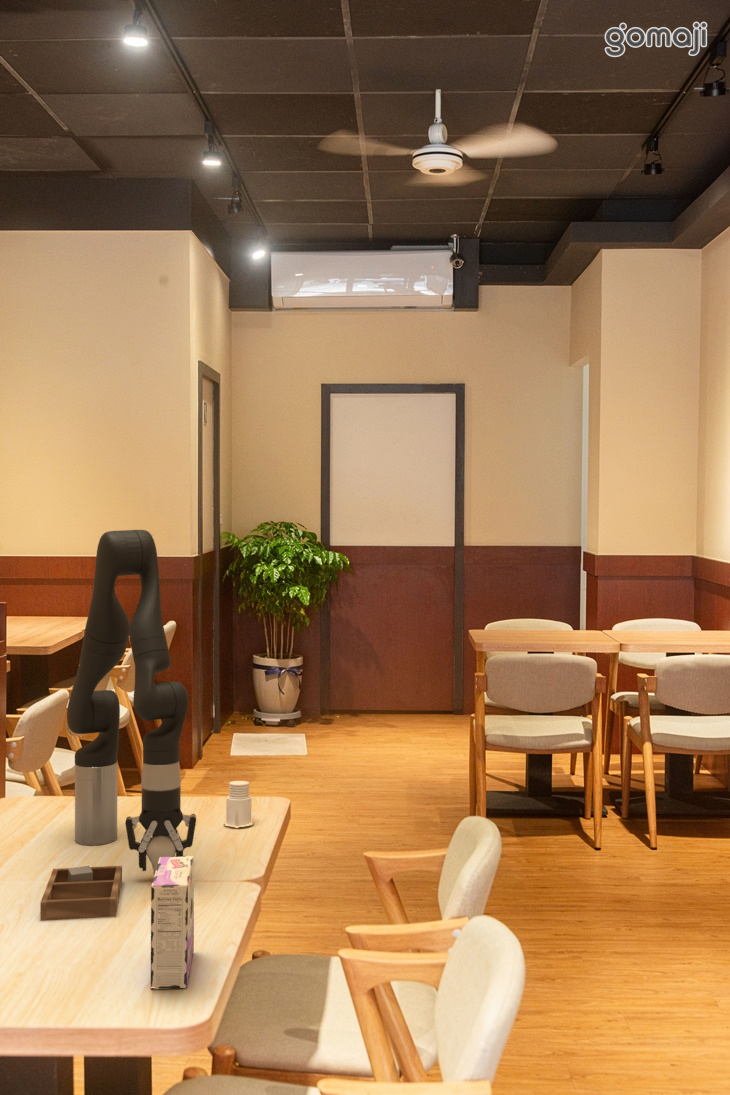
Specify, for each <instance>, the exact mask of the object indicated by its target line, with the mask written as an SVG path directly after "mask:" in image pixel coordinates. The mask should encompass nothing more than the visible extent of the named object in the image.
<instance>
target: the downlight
mask: <svg viewBox="0 0 730 1095" xmlns="http://www.w3.org/2000/svg"><path fill="white" fill-rule="evenodd" d="M228 785H229V786H228V787H229V788H228V794H229V795H227V796H226V807H225V808H226V809H225V810H226V812H225V813H226V817H225V819H226V821H225V822H226V823H227V824H229V825H233V826H241V825H246V824H249V823H250V822H251V821H252V796H251V795H250V782H249V781H248V780H247V781H246V780H234V781H230V782H229V784H228Z"/></svg>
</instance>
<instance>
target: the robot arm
mask: <svg viewBox="0 0 730 1095" xmlns="http://www.w3.org/2000/svg"><path fill="white" fill-rule="evenodd" d="M96 549H97V550H96V558H95V565H94V566H95V567H94V576H93V587H92V594H91V600H90V606H89V610H88V611H89V612H88V615H87V620H86V623H85V628H84V633H83V639H82V645H81V651H80V656H79V657H80V658H79V664H78V668H77V672H76V675H75V678H74V682H73V684H72V689H71V692H70V696H69V698H68V704H67V710H66V721H67V727H68V728H69V730H70V731H71V732H72V733H73V734H76V735H78V734H79V735H88V734H97V733H98V735H97V737H95V739H93V740H92V741H91V742H89V743H88V744H85V745H83V746H82V747H80V748H78V749H77V750H76V751H75V753H74V841H75V843H77V844H79V845H85V846H86V845H87V846H96V845H97V846H99V845H105V844H109V843H112V842H114V841H115V840H117V839H118V752H119V738H120V737H119V735H120V722H121V721H120V719H121V718H120V715H121V706H120V701H119V696H118V695H117V693H116V692H115V691H114V690H111V689H103V690H102V689H100V690H96V688H97V686H98V684H99V683H100V682H101V681H102V680H103V679H104V678H106V677H107V675H108V674H109V673H110V672H111V671H112V670H113V669H114V668H115V667H116V666H117V664H119V662H120V661H121V660H122V658H123V657H124V655H125V653H126V650H127V647H128V643H130V647H131V648H130V649H131V653H132V657H133V662H134V688H133V698H132V699H133V707H134V712H135V713H136V714H137V716H138V717H139V718H140V719H141V720H143V721H146V722H147V721H150V722H151V721H157V720H162V721H161V723H160V725H159V726H158V727H157V728H155V729H153V730H151V731H149V732H146V733H145V734H144V736H143V739H142V769H141V780H140V784H141V812H140V814H139V815H138V816H135V817H134V816H133V817H132V816H127V817H126V819H125V830H126V836H127V842H128V847H129V848H128V849H129V850H131V851H132V850H133V851H136V852H138V868H139V869H141V871H142V872H146V871H147V854H146V846H147V844H148V842H149V841H150V838H151V837H152V836H153V837H158V836H169V835H170V836H171V838H172V840H173V842H174V844H175V846H176V853H175V857H177V856H184V851H185V849H187V848H192V846H193V842H194V836H195V831H196V825H197V824H196V823H197V815H196V814H195V813H191V814H190V815H189V814H183V812H182V809H181V803H182V802H181V799H182V798H181V790H182V789H181V788H182V787H181V783H182V779H181V778H182V777H181V776H182V775H181V765H180V739H181V734H182V731H183V726H184V724H185V720H186V717H187V714H188V710H189V694H188V691H187V688H186V687H185V686H184V684H182V683H181V682H179V681H165V682H157V683H155V681H154V680H155V675H156V674H159V673H161V672H164V671H166V670H168V669H169V668H170V667H171V663H172V662H171V655H170V650H169V646H168V641H167V637H166V632H165V627H164V621H163V614H162V600H161V598H162V597H161V587H160V586H161V585H160V584H161V583H160V582H161V581H160V572H159V571H160V570H159V560H158V552H157V546H156V542H155V540H154V537H153V535H152V533H150V532H149V531H148V530H146V529H127V530H126V529H125V530H110V531H106V532H104V533H102V535H101V536H100V538H99V541H98V545H97V548H96ZM135 575H137V576H139V579H140V586H141V590H140V596H139V600H138V603H137V606H136V608H135V611H134V614H133V615H132V616H133V617H132V619H131V621H130V619H129V616H128V614H127V612H126V611H125V608H124V607H123V605H122V604H121V602H120V600H119V599H118V596H117V594H116V586H115V585H116V581H117V578H118V577H121V576H135ZM182 821H183V822H184V825H185V827H188V828H187V833H186V839H183V840H182V838H181V836H180V833H179V831H178V829H177V828H178V827H179V826H180V824H181V823H182ZM138 823H139V824H140V825H141V826H142V827H143V828H144V829H145V830H144V831H145V832H144V833H143V836H142V838H141V840H140V842H139V841H136V833H135V829H137V827H138Z"/></svg>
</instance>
